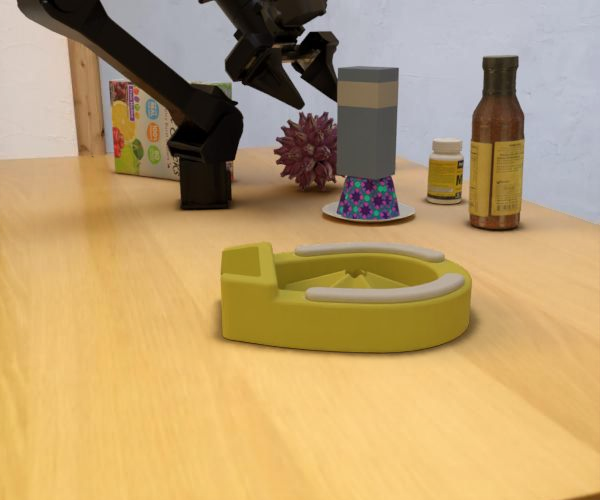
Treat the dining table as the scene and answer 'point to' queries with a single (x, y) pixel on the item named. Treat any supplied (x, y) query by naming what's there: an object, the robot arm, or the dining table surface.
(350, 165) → the block
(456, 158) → the supplement bottle
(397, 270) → the yellow curved tray
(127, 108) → the snack box
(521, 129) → the sauce bottle
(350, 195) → the pudding
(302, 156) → the flower
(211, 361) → the dining table surface
